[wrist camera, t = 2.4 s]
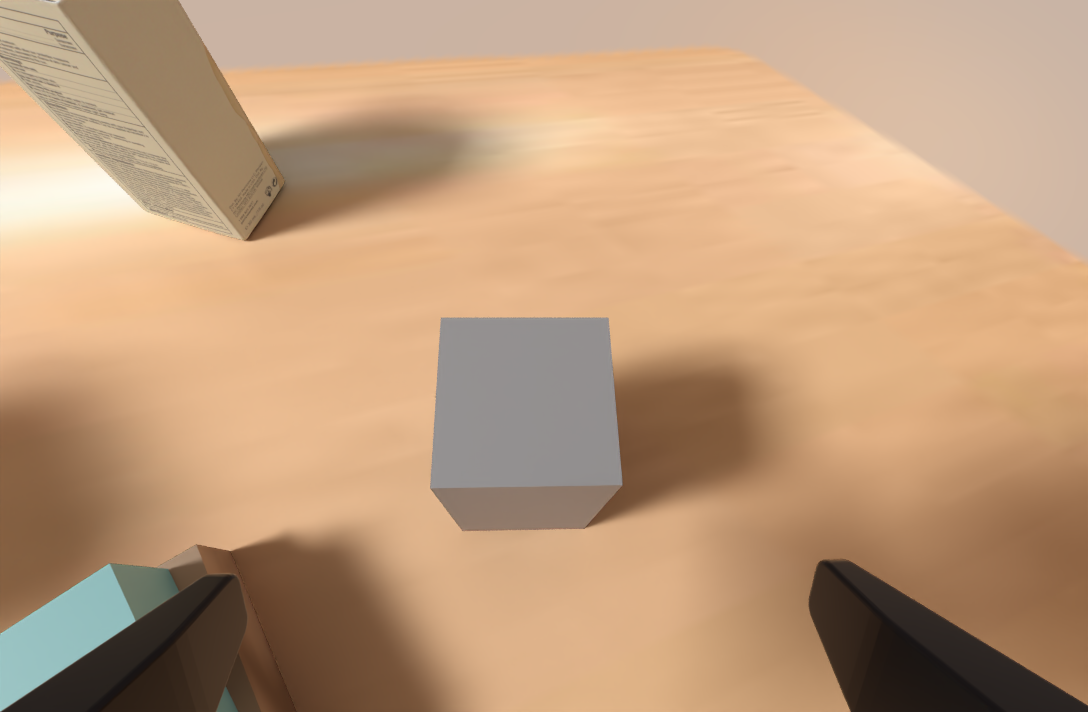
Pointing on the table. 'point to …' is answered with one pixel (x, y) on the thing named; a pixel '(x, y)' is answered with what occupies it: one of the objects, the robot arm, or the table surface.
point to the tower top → (81, 626)
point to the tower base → (255, 667)
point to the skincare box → (143, 106)
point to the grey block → (525, 422)
